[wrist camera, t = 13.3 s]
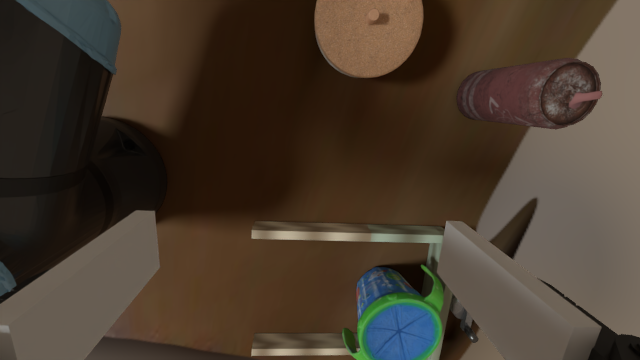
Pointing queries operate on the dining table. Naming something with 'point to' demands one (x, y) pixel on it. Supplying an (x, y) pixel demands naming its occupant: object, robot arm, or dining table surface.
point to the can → (532, 93)
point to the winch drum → (463, 318)
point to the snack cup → (395, 318)
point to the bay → (346, 232)
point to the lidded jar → (367, 34)
